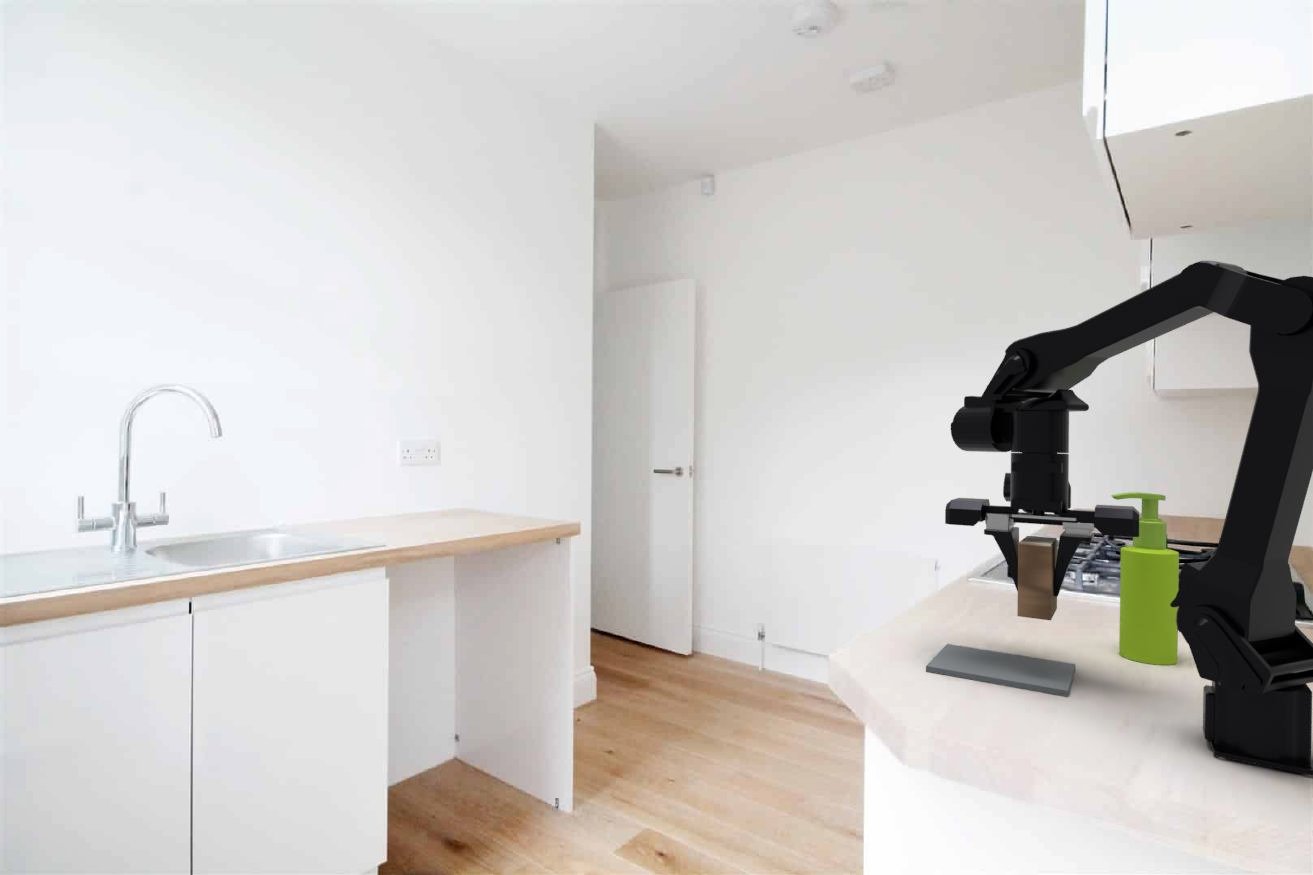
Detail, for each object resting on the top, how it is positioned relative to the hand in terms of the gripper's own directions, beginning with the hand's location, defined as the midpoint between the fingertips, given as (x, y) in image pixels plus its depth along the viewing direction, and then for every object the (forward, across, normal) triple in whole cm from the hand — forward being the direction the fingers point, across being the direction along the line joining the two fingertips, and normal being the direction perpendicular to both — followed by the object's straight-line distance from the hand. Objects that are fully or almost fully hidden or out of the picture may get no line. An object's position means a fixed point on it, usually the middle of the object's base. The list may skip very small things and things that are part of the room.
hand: (1037, 593), depth 82 cm
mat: (+9, +4, 0) cm, 10 cm away
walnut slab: (+2, 0, 0) cm, 2 cm away
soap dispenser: (+9, -10, -16) cm, 21 cm away
